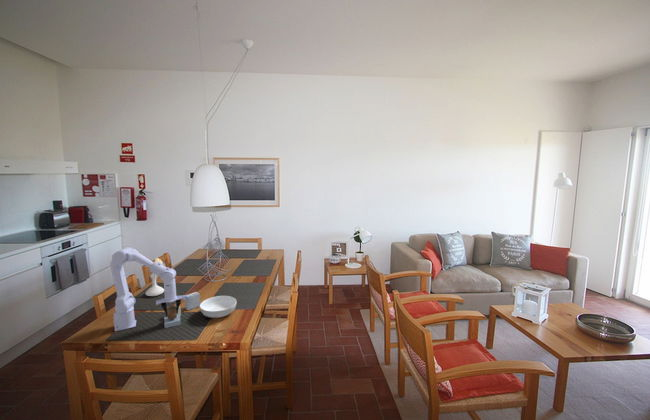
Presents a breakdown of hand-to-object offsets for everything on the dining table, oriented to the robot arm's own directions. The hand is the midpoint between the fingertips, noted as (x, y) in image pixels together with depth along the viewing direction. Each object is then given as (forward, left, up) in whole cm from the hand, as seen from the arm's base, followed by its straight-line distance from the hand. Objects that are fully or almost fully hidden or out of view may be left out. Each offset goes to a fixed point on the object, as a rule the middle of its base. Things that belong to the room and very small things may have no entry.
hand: (171, 313), depth 167 cm
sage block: (+2, +8, -6) cm, 10 cm away
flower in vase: (-8, +49, -6) cm, 50 cm away
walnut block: (0, 0, -2) cm, 2 cm away
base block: (0, 0, -6) cm, 6 cm away
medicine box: (+12, +15, -6) cm, 20 cm away
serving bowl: (+25, -1, -6) cm, 26 cm away
